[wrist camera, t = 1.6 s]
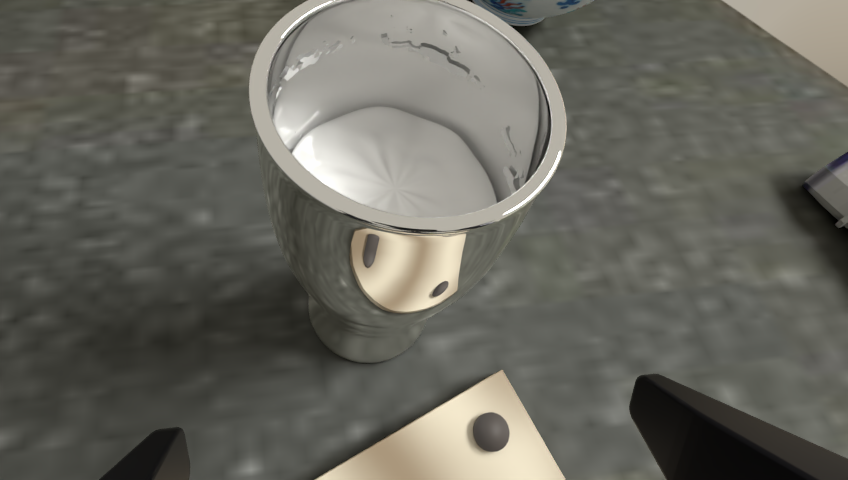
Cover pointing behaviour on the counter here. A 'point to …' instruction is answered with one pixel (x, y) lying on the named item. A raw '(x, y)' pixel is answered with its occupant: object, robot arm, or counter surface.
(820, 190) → the grey long bar
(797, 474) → the robot arm
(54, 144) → the counter surface
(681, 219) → the counter surface
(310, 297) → the metal tumbler
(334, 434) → the counter surface
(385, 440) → the bolt plate
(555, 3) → the chinaware
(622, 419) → the counter surface
